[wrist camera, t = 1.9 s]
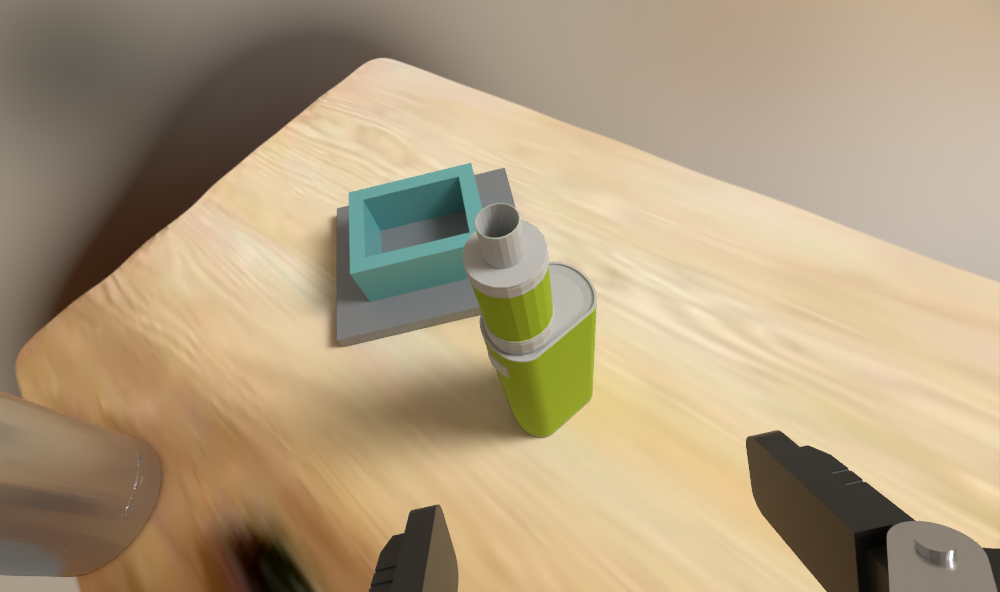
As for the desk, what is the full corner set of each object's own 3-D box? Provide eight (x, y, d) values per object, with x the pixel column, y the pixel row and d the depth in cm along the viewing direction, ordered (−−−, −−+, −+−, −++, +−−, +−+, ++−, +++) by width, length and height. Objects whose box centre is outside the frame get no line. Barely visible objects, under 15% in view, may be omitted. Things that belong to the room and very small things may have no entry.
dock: (343, 346, 38) (311, 315, 34) (342, 217, 46) (316, 177, 41) (539, 300, 38) (534, 262, 33) (506, 177, 45) (498, 132, 41)
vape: (501, 407, 34) (420, 223, 17) (565, 354, 35) (548, 135, 18) (536, 448, 32) (484, 288, 15) (601, 391, 33) (620, 184, 16)
